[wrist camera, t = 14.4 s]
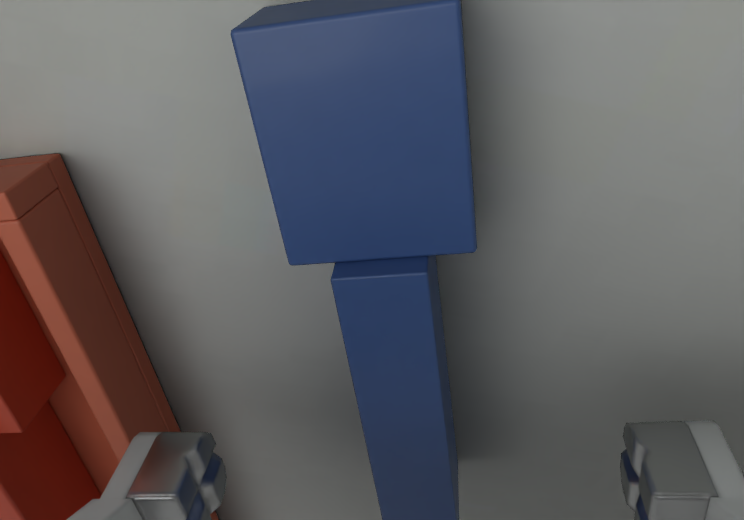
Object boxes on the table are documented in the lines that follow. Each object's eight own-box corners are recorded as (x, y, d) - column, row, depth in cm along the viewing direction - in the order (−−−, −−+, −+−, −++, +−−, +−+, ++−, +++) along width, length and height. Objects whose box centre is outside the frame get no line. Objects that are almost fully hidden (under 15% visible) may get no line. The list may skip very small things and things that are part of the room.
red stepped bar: (162, 556, 20) (129, 635, 18) (63, 554, 21) (20, 631, 19) (-9, 230, 14) (-91, 293, 12) (-144, 240, 14) (-244, 303, 12)
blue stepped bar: (490, 461, 17) (497, 545, 15) (363, 463, 18) (352, 543, 15) (458, -22, 11) (461, 4, 8) (260, 7, 11) (217, 37, 9)
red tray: (247, 583, 22) (230, 643, 20) (38, 579, 23) (6, 635, 21) (60, 152, 13) (4, 192, 12) (-250, 186, 15) (-342, 226, 13)
